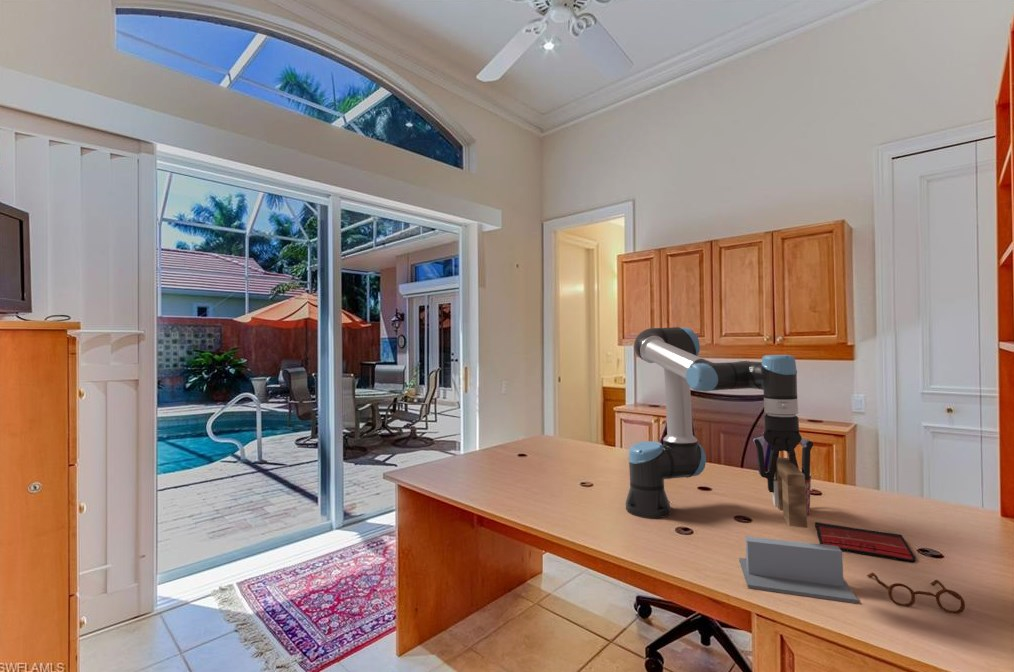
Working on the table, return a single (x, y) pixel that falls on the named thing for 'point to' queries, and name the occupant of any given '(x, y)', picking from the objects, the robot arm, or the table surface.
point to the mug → (807, 494)
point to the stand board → (795, 569)
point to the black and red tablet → (865, 542)
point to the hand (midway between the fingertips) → (785, 505)
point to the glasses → (923, 594)
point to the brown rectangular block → (791, 492)
